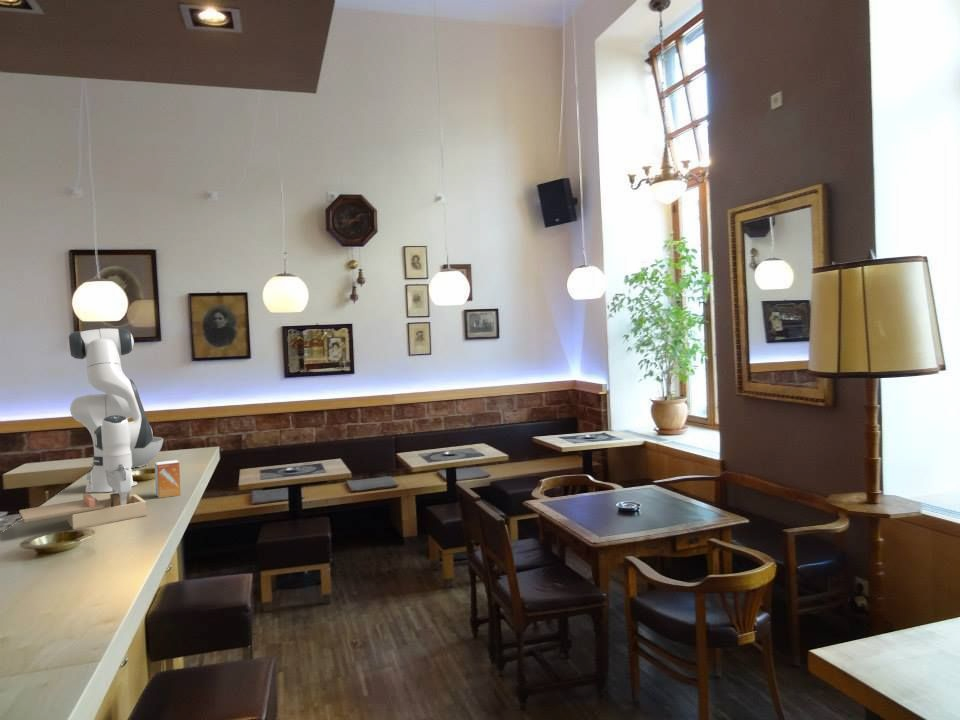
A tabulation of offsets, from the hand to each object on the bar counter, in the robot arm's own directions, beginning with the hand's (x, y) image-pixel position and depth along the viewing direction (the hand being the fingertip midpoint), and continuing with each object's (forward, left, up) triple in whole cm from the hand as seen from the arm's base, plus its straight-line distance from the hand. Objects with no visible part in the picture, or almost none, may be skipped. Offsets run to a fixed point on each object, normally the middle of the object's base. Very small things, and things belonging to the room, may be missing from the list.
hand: (120, 502), depth 235 cm
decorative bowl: (-94, +25, -5) cm, 97 cm away
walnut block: (0, 0, -4) cm, 4 cm away
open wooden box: (0, -4, -5) cm, 6 cm away
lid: (0, -17, +1) cm, 17 cm away
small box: (-19, +21, -5) cm, 28 cm away
